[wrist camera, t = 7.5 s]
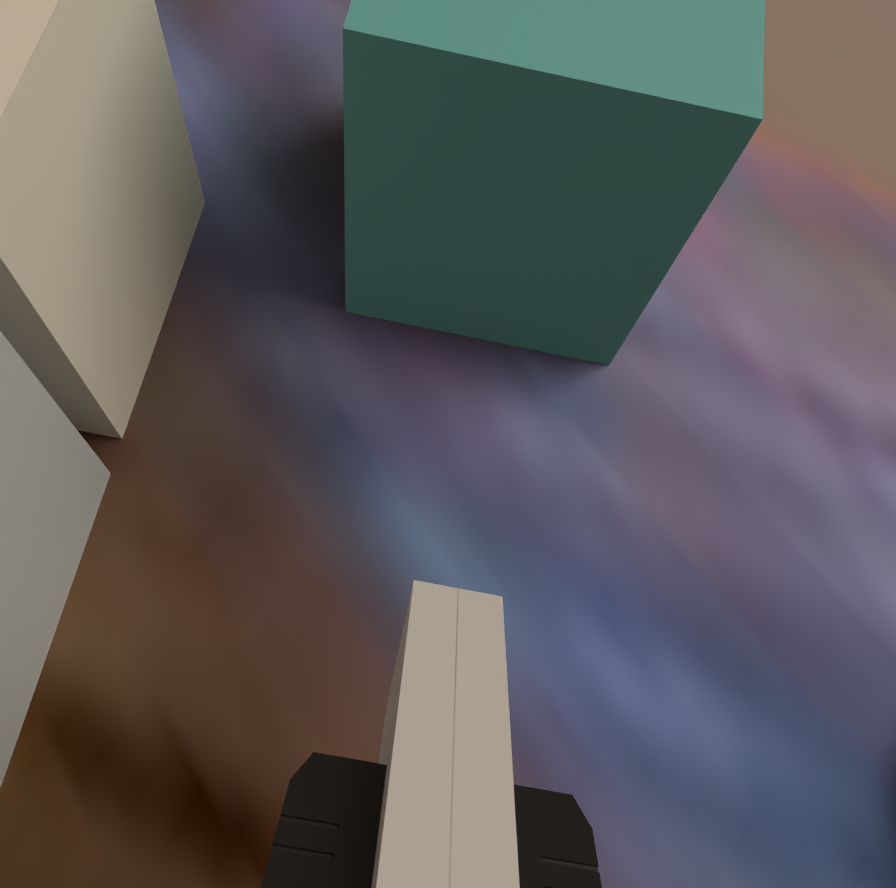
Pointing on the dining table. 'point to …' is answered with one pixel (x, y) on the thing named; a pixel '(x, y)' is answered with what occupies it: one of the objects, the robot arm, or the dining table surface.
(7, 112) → the cream block
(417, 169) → the teal block
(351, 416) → the dining table surface
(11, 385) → the grey block
